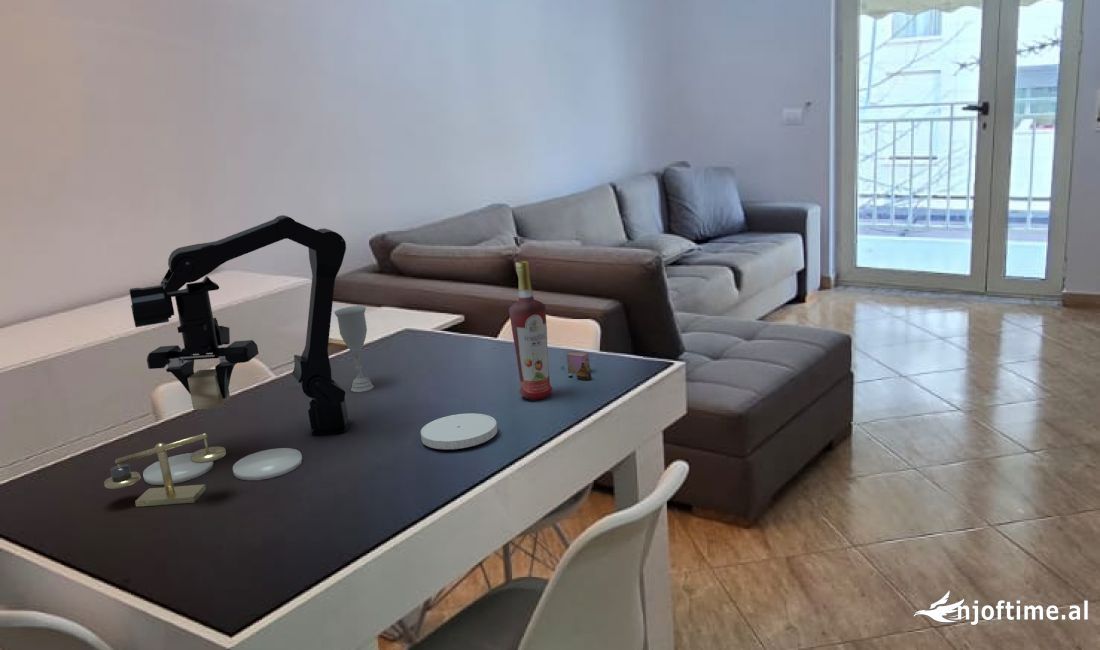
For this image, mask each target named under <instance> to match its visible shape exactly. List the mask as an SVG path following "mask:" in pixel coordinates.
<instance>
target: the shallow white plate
mask: <svg viewBox="0 0 1100 650" xmlns="http://www.w3.org/2000/svg"><path fill="white" fill-rule="evenodd" d="M302 463H303V456H302V453H301V452H300V450H297V449H295V448H288V447H281V448H271V449H270V448H269V449H266V450H264V449H263V450H261V451H257V452H254V453H250V454H248V455H246V456H244V457H242V458H240V459H239V460H237V461H236V462H235V463H234V464H233V466H232V472H233V476H234V477H235V478H236V479H239V480H241V481H250V482H251V481H261V480H262V481H263V480H264V481H265V480H269V479H273V478H276V477H280V476H281V477H282V476H283V475H286V474H289V473H290V472H292V471H294V470H295V469H297V468H299V466H301V465H302Z"/></svg>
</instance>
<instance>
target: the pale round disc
mask: <svg viewBox="0 0 1100 650" xmlns="http://www.w3.org/2000/svg"><path fill="white" fill-rule="evenodd" d="M193 453H194V452H186V453H181V454H177V455H172V456H169V457H168V462H169V466H170V471H171V476H172V480H173V485H174V484H180V483H184V482H187V481H191V480H193V479H196V478H198V477H200V476H203V475H204V474H206V473H209V472H210V470H212V468H213V467H214V465H215V463H214V461H211V462H207V463H193V462H191V458H190V456H191V455H192V454H193ZM142 475H143V480H144V482H145V483H147V484H149V485H155V486H164V482H163V477H162V472H161V468H160V463H159V460H158V461H155V462H154V463H152V464H150V465H148V466H147V467H145V469H144V470H143V471H142Z"/></svg>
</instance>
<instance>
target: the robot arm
mask: <svg viewBox="0 0 1100 650" xmlns="http://www.w3.org/2000/svg"><path fill="white" fill-rule="evenodd" d="M285 239H286V240H287V239H288V240H290V241H292V242H295V243H296V244H299V245H301V246H304V247H307V248H308V258H309V264H310V270H311V287H310V288H311V289H310V298H309V306H308V307H309V308H308V318H307V326H306V337H305V346H304V350H303V351H302V354H301V355H298V354H294V356H293V361H294V366H293V371H292V372H291V375H292V377H293V378H294V380H295V383H296V385H297V387H298V388H299V389H300V390H301V391H302V393H303V394H304V395H305V396H306V397H308V398H310V399H311V401H310V402H309V409H307V413H308V418H309V424H310V425H309V426H310V429H311V430H312V431H311V433H310V434H311V436H321V435H332V434H333V435H334V434H344V433H345V432H346V431H347V429H348V427H349V426H350V425H351V423H352V418H350V419H349V416H348V409H347V408H348V407H347V401H346V391H345V390H344V389H343V388H342V386H340V385H339V383H337V382H336V381H335V380H334V379H332V378H333V377H332V367H331V366H332V365H331V361H330V358H329V357H330V356H329V344H330V343H329V342H330V334H331V333H330V332H331V322H332V321H331V320H332V311H333V302H334V291H335V282H336V278H337V276H338V274H339V272H340V269H341V268H342V266H343V263H344V262H343V261H344V257H345V255H346V251H347V243H346V240H345V239H344V237H343V236H342V235H341V234H340V233H338V232H336V231H334V230H331V229H328V228H325V227H324V228H318V229H315V228H312V227H309V226H307V225H305V224H303V223H301V222H299V221H296V220H295V219H294V218H293V217H289V216H288V215H283V214H282V215H277V216H276V217H275V218H272V219H271V220H269V221H268V220H267V221H266V222H264V223H260V224H257V225H255V226H253V227H251V228H247V229H246V230H245V229H244V230H243V231H240V232H239V231H238V232H237V233H233V234H232V235H228V236H226V237H224V238H221V239H218V240H215V241H211V242H204V243H203V242H202V243H195V244H191V245H186V246H181V247H177V248H175V249H174V250H173V251H172V252H171V253H170V255H169V257H168V260H167V265H168V270H167V271H166V273H165V274H164V276H163V278H162V280H161V282H160V285H159V284H158V285H155V286H154V285H153V286H149V287H133V288H129V295H130V301H131V305H130V307H131V312H132V318H133V323H134V326H135V328H140V327H146V326H151V325H158V324H165V323H169V322H170V319H171V318H172V316H175V310H174V304H173V299H172V298H174V299H175V302H176V303H175V305H176V309H177V314H178V321H179V326H177V332H178V334H179V333H181V336H182V342H183V345H184V346H183V348H181V347H180V346H179V345H178V344H177V345H164V346H163V345H162V346H159V347H157V348H156V349H154V350H152V351H151V352H149V353H148V354H147V357H146V363H147V368H148V369H149V370H156V369H164V368H166V367H167V368H166V369H165V370H166V373H171V374H172V375H173V376H174V377H175V378H176V379H177V381H179V382H180V384H182V386H183V387H184V388H185V390H186V391H187V392H188V394H189V395H190V396H191V394H190V389H189V384H188V378H189V377H190V376H191V375H193V374H194V373H195V371H194V366H195V361H196V360H210V359H218V360H219V363H218V364H217V365H215V366H214V369H216V374H217V378H218V383H219V388H220V392H221V394H222V397H223V399H225V398H226V397H227V394H228V389H229V390H230V388H229V387H230V384H231V383H230V381H231V377H232V374H233V370H234V368H235V365H237V364H243V363H248V362H250V361H251V360H252V359H254V358H256V356H257V355H259V353H260V352H259V347H258V344H257V343H256V342H255V341H254V339H250V340H249V339H248V340H236V341H233V342H230V341H231V340H230V338H231V337H230V335H231V334H230V327H229V326H228V327H227V326H224V325H219V324H218V323H219V322H218V320H217V317H214V315H213V311H212V310H213V309H212V304H211V298H210V293H209V292H213V291H218V290H219V289H220V286H219V285H218V283H216V282H215V281H213V280H211V279H210V277H209V276H207V275H209V274H211V273H212V272H213V271H215V270H216V269H217V268H219V267H221V265H223V264H225V263H227V262H228V261H230V260H233V259H236V258H239V257H241V256H243V255H247V254H248V253H251V252H254V251H257V250H259V249H261V248H262V249H263V248H265V247H267V246H270V245H272V244H275V243H278V242H280V241H283V240H285ZM202 278H204V279H203V280H202V281H199V280H200V279H202ZM197 281H198V282H197ZM185 285H186V287H185V288H182V287H184V286H185ZM181 288H182V289H181ZM223 345H224V347H221V346H223ZM225 345H227V346H226V347H225Z"/></svg>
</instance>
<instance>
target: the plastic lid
mask: <svg viewBox="0 0 1100 650" xmlns="http://www.w3.org/2000/svg"><path fill="white" fill-rule="evenodd" d="M497 433H498V422H497V420H496V419H495V418H494V417H492V416H490V415H488V414H483V413H457V414H451V415H447V416H444V417H443V416H442V417H439V418H437V419H434V420H433V421H430V422H428V423H427V424H425V425H424V426H423V427H422V428H421V429H420V436H421V442H422V444H423V445H425V446H427V447H428V448H430V449H437V450H458V449H459V450H460V449H465V448H471V447H475V446H478V445H481V444H484V443H486V442H488V441H489V440H491V439H493V438H494V436H496V435H497Z"/></svg>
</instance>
